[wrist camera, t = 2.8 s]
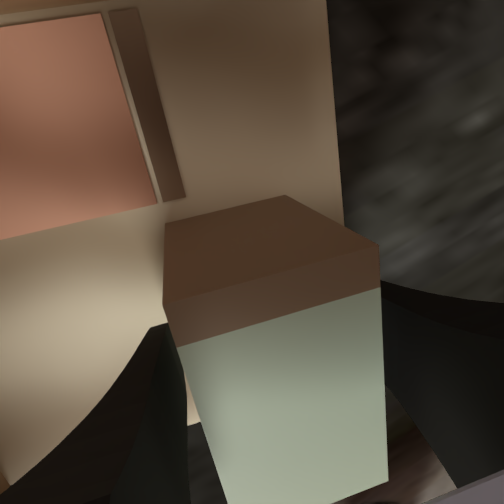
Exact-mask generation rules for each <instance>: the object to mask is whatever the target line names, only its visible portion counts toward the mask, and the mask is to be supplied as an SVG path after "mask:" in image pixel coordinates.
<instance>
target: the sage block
mask: <svg viewBox="0 0 504 504" xmlns="http://www.w3.org/2000/svg"><path fill="white" fill-rule="evenodd" d="M162 306H163V309H164V312H165V315H166V318H167V321H168V324H169V327H170V330H171V333H172V336H173V339H174V342H175V345H176V348H177V351H178V354H179V357H180V360H181V363H182V366H183V369H184V372H185V375H186V378H187V381H188V384H189V387H190V390H191V393H192V396H193V399H194V402H195V405H196V408H197V411H198V414H199V417H200V420H201V424H202V427H203V430H204V433H205V436H206V439H207V442H208V445H209V448H210V451H211V454H212V457H213V460H214V463H215V466H216V469H217V472H218V475H219V478H220V481H221V484H222V487H223V490H224V493H225V496H226V499H227V502H228V504H331V503H334V502H336V501H339V500H341V499H344V498H346V497H349V496H351V495H354V494H356V493H359V492H361V491H364V490H367V489H369V488H372V487H374V486H377V485H379V484H382V483H384V482H387V481H388V460H387V435H386V410H385V386H384V361H383V336H382V312H381V287H380V263H379V245H378V244H376V243H374V242H372V241H370V240H368V239H367V238H365V237H363V236H361V235H359V234H357V233H355V232H354V231H352V230H350V229H348V228H346V227H344V226H343V225H341V224H339V223H337V222H335V221H333V220H331V219H330V218H328V217H326V216H324V215H322V214H320V213H318V212H317V211H315V210H313V209H311V208H309V207H307V206H305V205H304V204H302V203H300V202H298V201H296V200H294V199H293V198H291V197H289V196H287V195H282V196H277V197H273V198H269V199H265V200H261V201H257V202H252V203H248V204H244V205H240V206H236V207H232V208H227V209H223V210H219V211H215V212H211V213H207V214H202V215H198V216H194V217H190V218H186V219H182V220H177V221H173V222H169V223H165V236H164V266H163V296H162Z"/></svg>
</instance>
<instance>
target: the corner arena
mask: <svg viewBox="0 0 504 504" xmlns="http://www.w3.org/2000/svg"><path fill="white" fill-rule="evenodd" d="M282 195H287V196H289V197H291V198H293V199H294V200H296V201H298V202H300V203H302V204H304V205H305V206H307V207H309V208H311V209H313V210H315V211H317V212H318V213H320V214H322V215H324V216H326V217H328V218H330V219H331V220H333V221H335V222H337V223H339V224H341V225H343V226H344V215H343V203H342V191H341V178H340V166H339V154H338V141H337V129H336V117H335V104H334V92H333V80H332V67H331V55H330V43H329V30H328V18H327V6H326V0H0V494H1V493H3V492H4V491H5V490H7V489H8V488H9V486H10V485H12V484H14V483H15V482H16V481H18V480H19V479H20V478H21V477H22V476H24V475H25V474H26V473H27V472H28V471H29V470H31V469H32V468H33V467H34V466H35V465H36V464H38V463H39V462H40V461H41V460H42V459H43V458H44V457H45V456H47V455H48V454H49V453H50V452H51V451H52V450H53V449H54V448H55V447H56V446H57V445H58V444H59V443H60V442H61V441H62V440H63V439H64V438H65V437H66V436H67V435H68V434H69V433H70V432H71V431H72V430H73V429H74V428H75V427H76V426H77V425H78V424H79V423H80V422H81V421H82V420H83V419H84V418H85V417H86V416H87V415H88V414H89V413H90V411H91V410H92V409H93V408H94V407H95V406H96V405H97V404H98V402H99V401H100V400H101V399H102V398H103V396H104V395H105V394H106V393H107V391H108V390H109V389H110V387H111V386H112V385H113V383H114V382H115V380H116V379H117V378H118V376H119V375H120V374H121V372H122V371H123V369H124V368H125V366H126V365H127V363H128V362H129V360H130V359H131V357H132V356H133V354H134V352H135V351H136V349H137V347H138V346H139V344H140V343H141V341H142V339H143V338H144V336H145V334H146V333H147V331H148V330H149V328H150V327H153V326H157V325H160V324H164V323H167V322H168V321H167V318H166V315H165V312H164V309H163V306H162V296H163V266H164V236H165V223H169V222H173V221H177V220H182V219H186V218H190V217H194V216H198V215H202V214H207V213H211V212H215V211H219V210H223V209H227V208H232V207H236V206H240V205H244V204H248V203H252V202H257V201H261V200H265V199H269V198H273V197H277V196H282ZM184 376H185V383H186V391H187V426H188V425H191V424H194V423H197V422H200V421H201V420H200V417H199V414H198V411H197V408H196V405H195V402H194V399H193V396H192V393H191V390H190V387H189V384H188V381H187V378H186V375H185V372H184Z"/></svg>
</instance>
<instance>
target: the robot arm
mask: <svg viewBox="0 0 504 504" xmlns="http://www.w3.org/2000/svg"><path fill="white" fill-rule="evenodd" d="M380 287H381V312H382V336H383V361H384V384H385V385H386V386H387V387H388V388H389V389H390V391H391V392H392V393H393V394H394V396H395V397H396V398H397V399H398V401H399V402H400V403H401V405H402V406H403V408H404V409H405V410H406V412H407V413H408V415H409V416H410V417H411V419H412V420H413V422H414V423H415V424H416V426H417V427H418V429H419V430H420V432H421V433H422V435H423V436H424V438H425V439H426V441H427V442H428V444H429V445H430V447H431V448H432V449H433V451H434V452H435V454H436V455H437V457H438V459H439V460H440V462H441V463H442V465H443V466H444V468H445V469H446V471H447V473H448V474H449V476H450V477H451V479H452V480H453V482H454V484H455V485H456V487H457V488H458V489H456V490H453V491H451V492H448V493H446V494H444V495H441V496H439V497H436V498H434V499H432V500H429V501H427V502H424V503H422V504H504V303H495V302H485V301H475V300H467V299H460V298H454V297H448V296H442V295H437V294H432V293H427V292H423V291H419V290H415V289H410V288H407V287H403V286H399V285H396V284H392V283H388V282H385V281H382V280H380ZM0 504H191V501H190V491H189V481H188V463H187V391H186V383H185V376H184V369H183V366H182V363H181V360H180V357H179V354H178V351H177V348H176V345H175V342H174V339H173V336H172V333H171V330H170V327H169V324H168V322H167V323H164V324H160V325H157V326H153V327H150V328H149V330H148V331H147V333H146V334H145V336H144V338H143V339H142V341H141V343H140V344H139V346H138V347H137V349H136V351H135V352H134V354H133V356H132V357H131V359H130V360H129V362H128V363H127V365H126V366H125V368H124V369H123V371H122V372H121V374H120V375H119V376H118V378H117V379H116V380H115V382H114V383H113V385H112V386H111V387H110V389H109V390H108V391H107V393H106V394H105V395H104V396H103V398H102V399H101V400H100V401H99V402H98V404H97V405H96V406H95V407H94V408H93V409H92V410H91V411H90V413H89V414H88V415H87V416H86V417H85V418H84V419H83V420H82V421H81V422H80V423H79V424H78V425H77V426H76V427H75V428H74V429H73V430H72V431H71V432H70V433H69V434H68V435H67V436H66V437H65V438H64V439H63V440H62V441H61V442H60V443H59V444H58V445H57V446H56V447H55V448H54V449H53V450H52V451H51V452H50V453H49V454H48V455H47V456H45V457H44V458H43V459H42V460H41V461H40V462H39V463H38V464H36V465H35V466H34V467H33V468H32V469H31V470H29V471H28V472H27V473H26V474H25V475H24V476H22V477H21V478H20V479H19V480H18V481H16V482H15V483H14V484H13V485H11V486H10V487H9V488H8V489H7V490H5V491H4V492H3V493H1V494H0Z"/></svg>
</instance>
